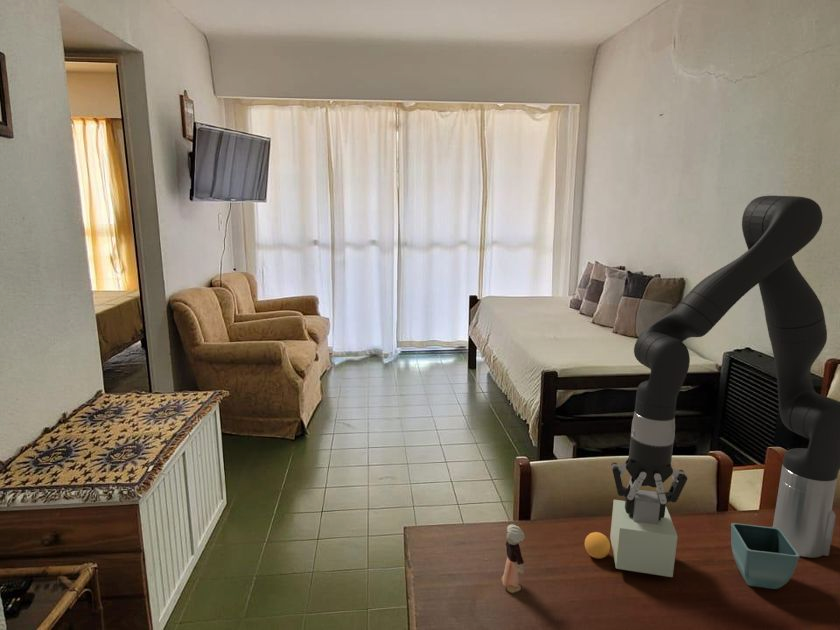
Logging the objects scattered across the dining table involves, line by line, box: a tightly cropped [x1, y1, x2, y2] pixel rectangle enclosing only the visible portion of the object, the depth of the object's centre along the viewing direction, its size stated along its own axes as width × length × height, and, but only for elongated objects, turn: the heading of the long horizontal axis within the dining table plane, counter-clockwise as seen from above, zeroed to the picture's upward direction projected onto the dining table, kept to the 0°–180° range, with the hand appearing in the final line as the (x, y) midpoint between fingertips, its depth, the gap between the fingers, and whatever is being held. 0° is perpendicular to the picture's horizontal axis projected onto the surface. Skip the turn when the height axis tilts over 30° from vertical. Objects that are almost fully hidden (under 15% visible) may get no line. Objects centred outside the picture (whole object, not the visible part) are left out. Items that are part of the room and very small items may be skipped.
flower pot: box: [730, 522, 801, 590], centre depth 102 cm, size 9×9×9 cm
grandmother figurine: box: [500, 524, 525, 594], centre depth 100 cm, size 8×4×13 cm, turn 23°
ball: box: [584, 531, 611, 560], centre depth 109 cm, size 5×5×5 cm
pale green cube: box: [609, 489, 678, 578], centre depth 106 cm, size 10×10×13 cm
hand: (643, 515), depth 105 cm, fingers closed on pale green cube, 4 cm apart
